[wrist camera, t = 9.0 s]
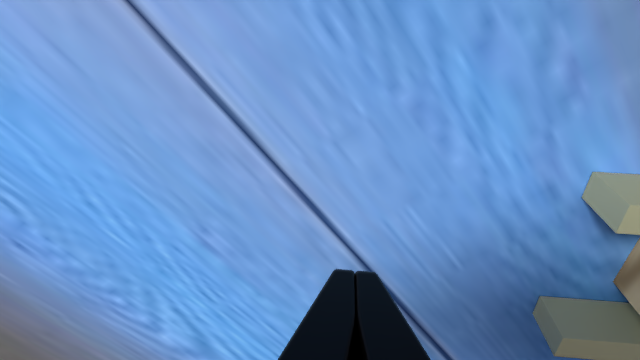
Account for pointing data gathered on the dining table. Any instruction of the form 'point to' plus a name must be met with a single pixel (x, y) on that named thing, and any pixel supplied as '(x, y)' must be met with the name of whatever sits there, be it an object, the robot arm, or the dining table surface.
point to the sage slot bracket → (593, 315)
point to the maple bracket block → (630, 278)
